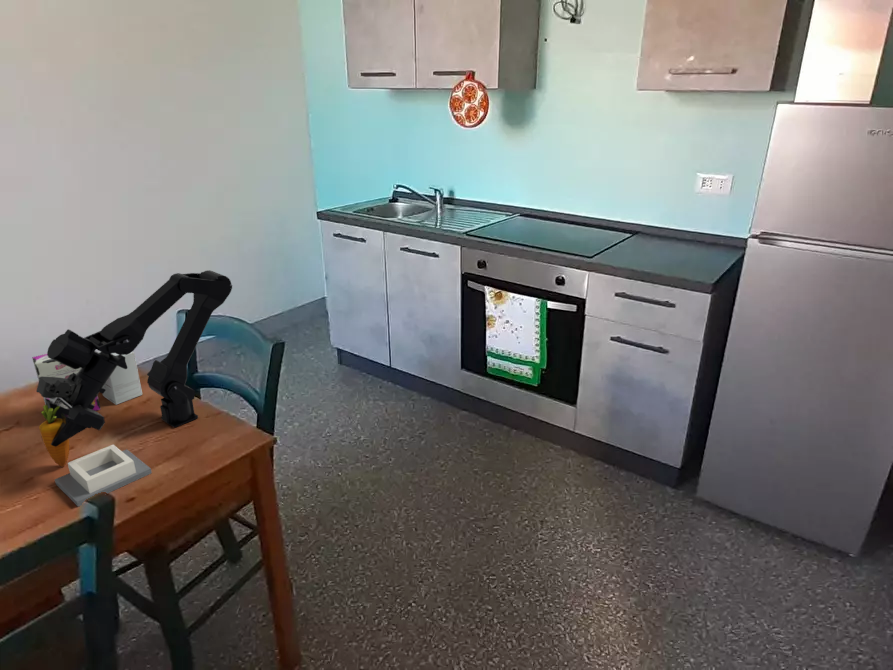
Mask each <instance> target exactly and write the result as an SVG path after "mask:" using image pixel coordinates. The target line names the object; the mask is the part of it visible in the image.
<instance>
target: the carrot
mask: <svg viewBox="0 0 893 670" xmlns="http://www.w3.org/2000/svg"><path fill="white" fill-rule="evenodd" d="M59 408H60V406H57V407H56V408H55V409H54V411H53V408H49V409H48V406H47V405H45V404H44V405H43V406H42V409H43V410H42V411H41V414H42V416H43V418H44V419H45V420H44V421H43V422H42V423H41V424H40V425H39V426H38V428H39V429H38V430H39V433H40V436H41V438H42V442H43V445H44V446H45V448H46V451H47V452H48V454H49V456H50V457H51V459H52V460H53V461H54V462H55V464H57V465H58V466H59V467H62V468H64V467H65V466H66V464H67V463H68V459H69V455H70V438H69V439H67V440H66V441H64V442H63V443H61V444H60V445H58V446H56V447H55V446H52V445H51V443H52V441H53V439H54V437H55V435H56V433H57V431H58V429H59V428H60V426H61V424H62V422H63V420H62V419H60V418H56V417H57V416H55V413H56V412H57V410H58V409H59ZM52 412H53V413H52Z"/></svg>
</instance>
